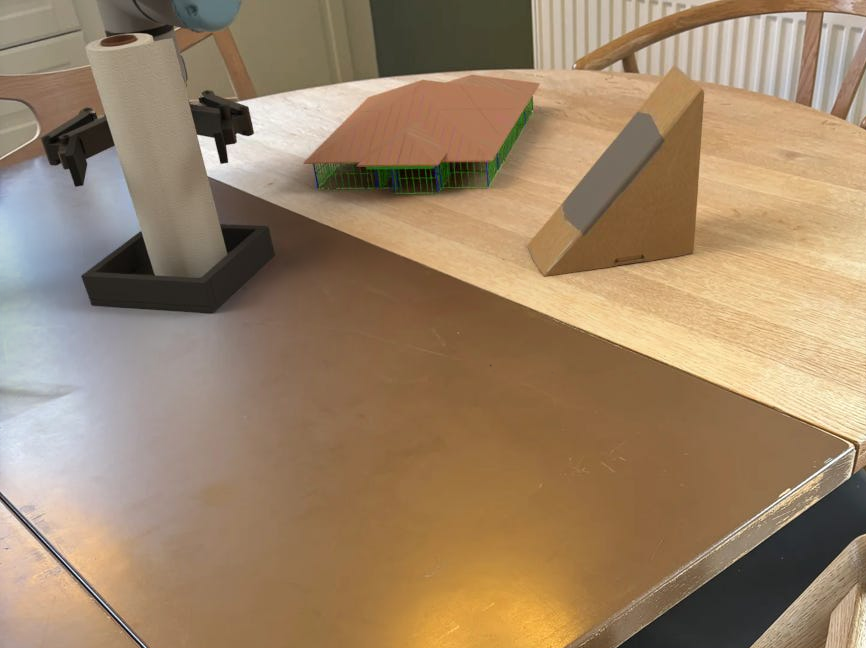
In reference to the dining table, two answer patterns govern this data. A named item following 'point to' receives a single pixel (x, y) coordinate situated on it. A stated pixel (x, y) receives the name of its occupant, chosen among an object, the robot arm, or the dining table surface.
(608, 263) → the sandwich container
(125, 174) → the paper towel roll
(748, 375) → the dining table surface
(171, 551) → the dining table surface
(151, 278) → the roll dock
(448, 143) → the house
